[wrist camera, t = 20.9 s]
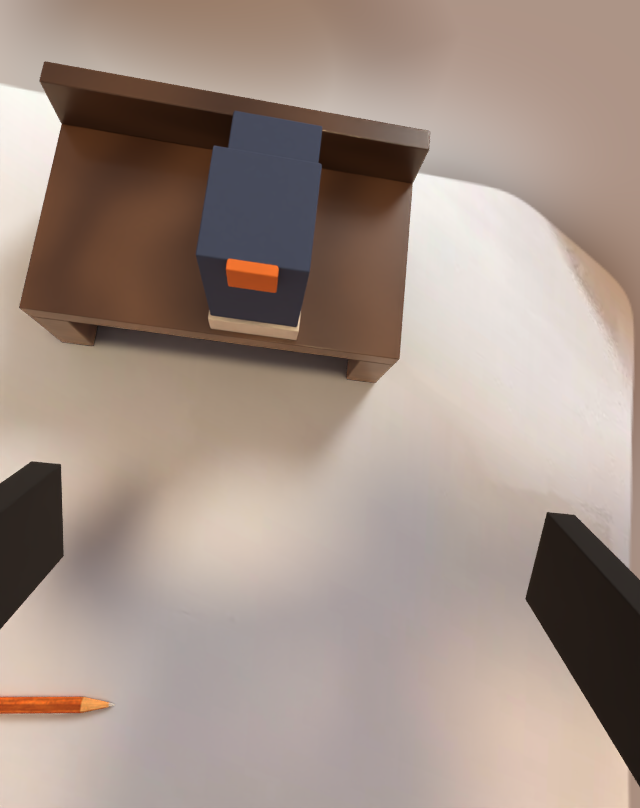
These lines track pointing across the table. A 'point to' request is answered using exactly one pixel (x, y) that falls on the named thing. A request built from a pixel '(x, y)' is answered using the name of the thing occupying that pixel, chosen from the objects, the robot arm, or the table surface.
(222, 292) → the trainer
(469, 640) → the table surface
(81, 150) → the shoe shelf
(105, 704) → the pencil
